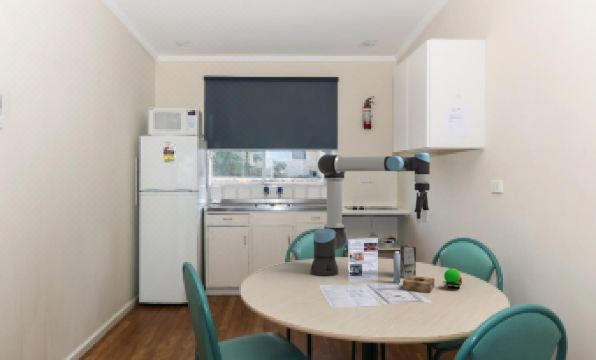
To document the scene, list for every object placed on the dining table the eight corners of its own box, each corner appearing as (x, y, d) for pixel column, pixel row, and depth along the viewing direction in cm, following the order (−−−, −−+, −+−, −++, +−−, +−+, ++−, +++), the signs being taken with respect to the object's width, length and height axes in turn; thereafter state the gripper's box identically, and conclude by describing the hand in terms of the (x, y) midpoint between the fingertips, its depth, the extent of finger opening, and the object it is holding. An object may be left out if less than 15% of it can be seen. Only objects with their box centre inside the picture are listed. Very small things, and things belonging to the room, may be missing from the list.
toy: (445, 290, 206) (441, 281, 194) (446, 275, 209) (442, 264, 198) (464, 293, 202) (460, 283, 190) (465, 277, 205) (461, 266, 194)
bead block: (403, 289, 195) (403, 281, 195) (409, 283, 206) (409, 275, 206) (429, 292, 190) (429, 284, 190) (434, 286, 200) (434, 278, 200)
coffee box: (416, 278, 216) (416, 247, 216) (403, 278, 216) (403, 247, 216) (411, 274, 225) (411, 244, 225) (399, 274, 226) (399, 244, 225)
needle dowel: (392, 282, 208) (392, 252, 208) (394, 281, 211) (394, 251, 211) (399, 283, 206) (399, 252, 206) (400, 282, 209) (400, 251, 209)
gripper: (424, 183, 205) (424, 226, 205) (434, 182, 227) (434, 221, 227) (408, 183, 208) (408, 226, 208) (420, 182, 230) (419, 221, 230)
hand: (421, 224), depth 218 cm, fingers open, 13 cm apart
